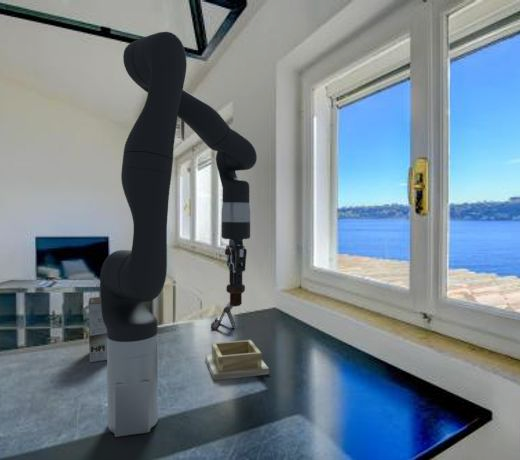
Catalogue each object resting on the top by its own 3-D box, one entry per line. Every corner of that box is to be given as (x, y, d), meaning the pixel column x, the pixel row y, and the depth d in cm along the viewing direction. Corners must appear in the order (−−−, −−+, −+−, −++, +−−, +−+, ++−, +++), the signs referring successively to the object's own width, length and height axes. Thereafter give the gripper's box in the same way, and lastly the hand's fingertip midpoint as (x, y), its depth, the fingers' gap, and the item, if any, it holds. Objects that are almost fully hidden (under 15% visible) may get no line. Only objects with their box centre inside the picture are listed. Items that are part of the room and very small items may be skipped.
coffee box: (114, 359, 108) (113, 301, 108) (89, 362, 106) (88, 303, 105) (112, 348, 117) (112, 295, 116) (89, 351, 114) (88, 297, 113)
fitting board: (268, 374, 99) (268, 354, 98) (213, 380, 95) (213, 360, 95) (254, 354, 112) (254, 337, 112) (205, 359, 108) (205, 341, 108)
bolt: (250, 305, 103) (250, 248, 102) (236, 308, 99) (236, 249, 98) (235, 302, 107) (235, 247, 106) (221, 305, 103) (221, 248, 102)
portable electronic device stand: (216, 323, 145) (216, 300, 145) (237, 323, 144) (237, 301, 144) (210, 330, 136) (210, 306, 136) (233, 331, 135) (233, 307, 135)
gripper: (257, 220, 96) (256, 290, 97) (243, 220, 110) (243, 280, 110) (227, 220, 94) (226, 291, 95) (217, 220, 108) (216, 281, 108)
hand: (235, 285), depth 103 cm, fingers closed on bolt, 4 cm apart
